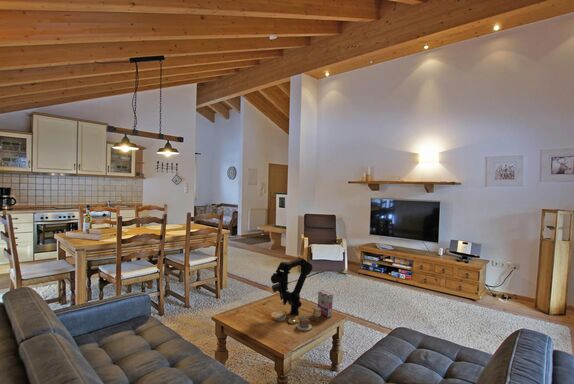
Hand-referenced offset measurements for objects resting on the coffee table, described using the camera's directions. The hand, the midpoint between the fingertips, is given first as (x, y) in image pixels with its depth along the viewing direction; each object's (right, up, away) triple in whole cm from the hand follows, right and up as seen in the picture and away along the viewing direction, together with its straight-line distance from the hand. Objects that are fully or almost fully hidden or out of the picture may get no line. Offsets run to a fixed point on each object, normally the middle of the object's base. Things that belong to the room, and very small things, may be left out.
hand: (282, 302), depth 213 cm
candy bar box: (+31, -13, +10) cm, 35 cm away
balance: (+15, -13, -2) cm, 20 cm away
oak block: (+24, -8, 0) cm, 26 cm away
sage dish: (+14, -13, -11) cm, 22 cm away
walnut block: (+14, -12, -11) cm, 22 cm away
